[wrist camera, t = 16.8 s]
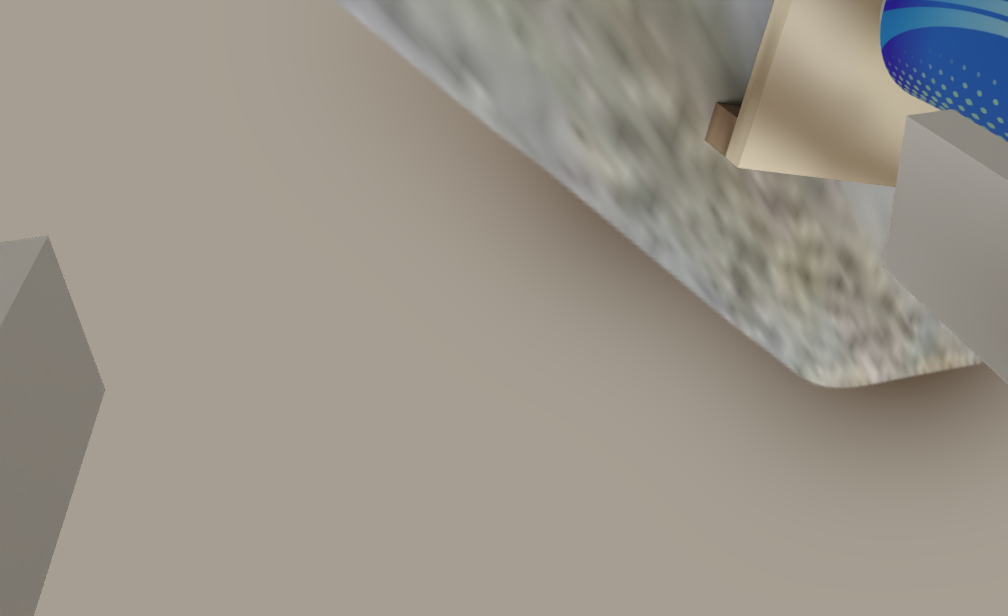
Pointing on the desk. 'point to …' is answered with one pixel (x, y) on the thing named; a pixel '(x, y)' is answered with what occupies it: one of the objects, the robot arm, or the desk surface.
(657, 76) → the desk surface
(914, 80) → the beer can
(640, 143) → the desk surface
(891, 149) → the shelf stand
